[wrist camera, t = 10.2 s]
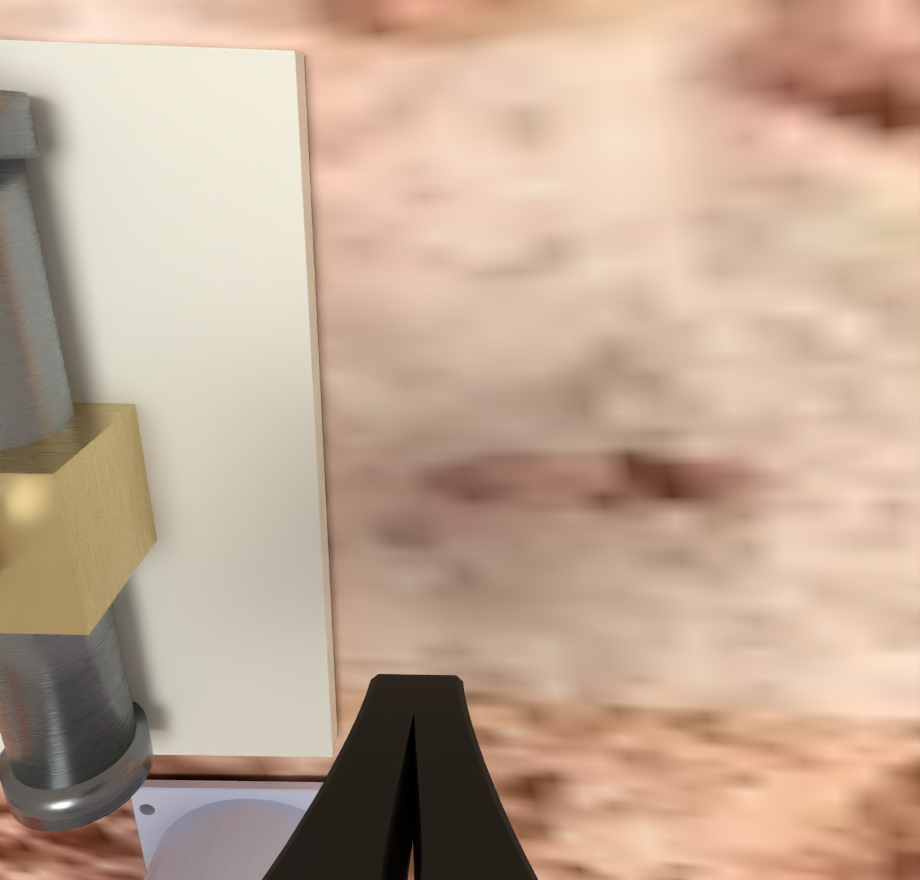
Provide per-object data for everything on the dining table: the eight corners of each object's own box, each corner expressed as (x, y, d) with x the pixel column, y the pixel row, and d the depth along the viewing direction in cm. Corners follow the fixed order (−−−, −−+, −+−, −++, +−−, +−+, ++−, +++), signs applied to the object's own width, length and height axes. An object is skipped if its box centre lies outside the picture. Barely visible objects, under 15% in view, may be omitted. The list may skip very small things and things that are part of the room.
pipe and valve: (191, 724, 23) (135, 850, 19) (32, 721, 22) (-58, 847, 18) (92, 97, 15) (-33, 84, 11) (-143, 88, 15) (-350, 73, 11)
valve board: (337, 732, 24) (332, 757, 23) (-89, 726, 23) (-111, 750, 22) (303, 55, 16) (294, 50, 15) (-343, 31, 15) (-393, 25, 14)
